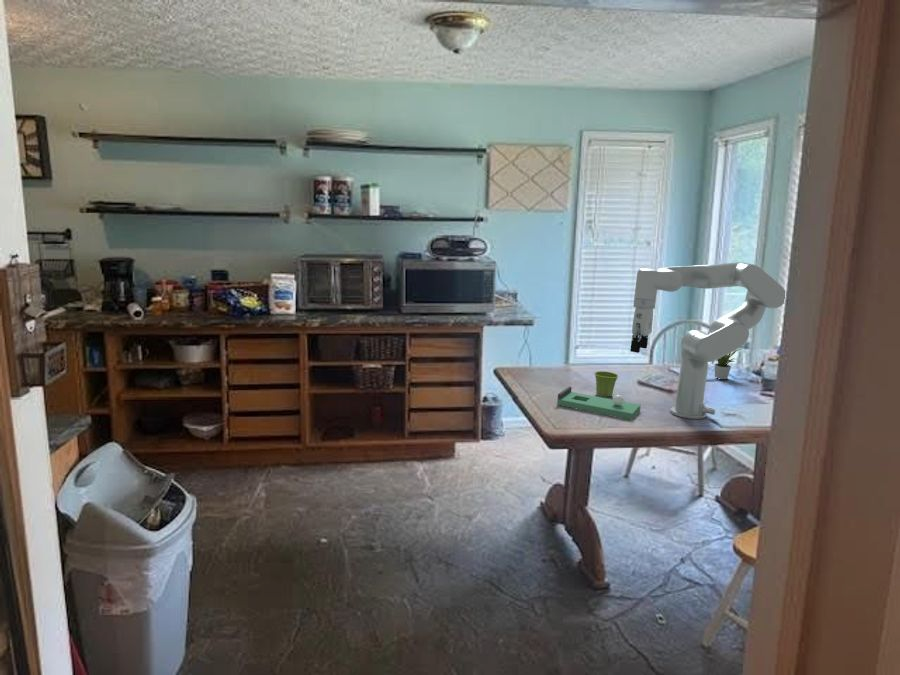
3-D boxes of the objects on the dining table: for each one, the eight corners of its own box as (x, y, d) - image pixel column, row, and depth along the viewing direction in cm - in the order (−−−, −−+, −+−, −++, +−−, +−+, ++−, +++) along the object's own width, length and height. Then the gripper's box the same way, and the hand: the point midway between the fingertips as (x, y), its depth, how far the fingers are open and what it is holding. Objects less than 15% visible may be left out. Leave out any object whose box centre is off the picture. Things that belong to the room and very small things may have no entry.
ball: (624, 405, 242) (625, 394, 241) (621, 407, 238) (622, 397, 238) (613, 403, 244) (614, 392, 243) (610, 405, 240) (611, 395, 239)
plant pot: (616, 393, 266) (618, 372, 264) (615, 399, 257) (618, 378, 255) (593, 390, 268) (595, 370, 267) (591, 396, 259) (593, 375, 258)
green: (639, 410, 244) (641, 399, 243) (631, 419, 233) (633, 408, 232) (568, 397, 257) (569, 386, 256) (557, 405, 246) (558, 394, 245)
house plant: (734, 375, 306) (739, 341, 302) (744, 383, 292) (749, 348, 289) (703, 373, 307) (707, 339, 304) (711, 381, 293) (716, 345, 290)
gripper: (648, 307, 224) (642, 355, 228) (661, 302, 239) (655, 348, 242) (627, 304, 228) (621, 352, 232) (640, 299, 243) (635, 344, 246)
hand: (638, 349), depth 237 cm, fingers open, 9 cm apart
